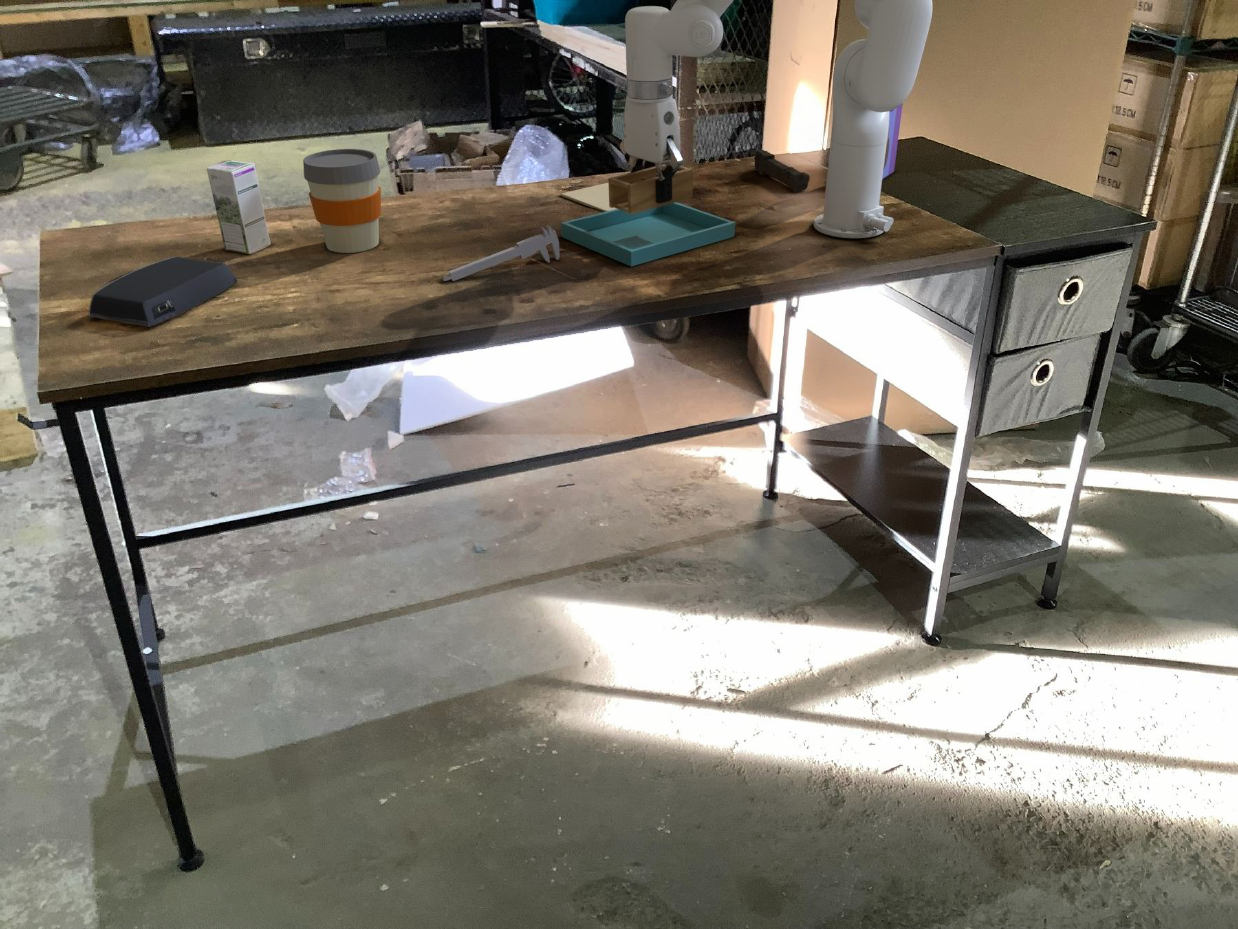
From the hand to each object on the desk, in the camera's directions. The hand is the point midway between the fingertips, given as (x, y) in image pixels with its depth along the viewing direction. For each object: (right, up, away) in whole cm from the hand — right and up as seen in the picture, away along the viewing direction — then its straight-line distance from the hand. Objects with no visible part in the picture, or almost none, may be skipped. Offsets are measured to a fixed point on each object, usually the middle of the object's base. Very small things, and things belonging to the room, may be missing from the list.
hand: (651, 196), depth 177 cm
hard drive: (-75, -22, -20) cm, 81 cm away
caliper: (-25, -15, -10) cm, 31 cm away
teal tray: (0, -6, +4) cm, 7 cm away
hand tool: (+27, +12, +34) cm, 45 cm away
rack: (0, -1, +1) cm, 1 cm away
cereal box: (+46, +12, +34) cm, 58 cm away
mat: (-4, +7, +26) cm, 27 cm away
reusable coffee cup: (-52, -8, +2) cm, 53 cm away
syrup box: (-70, -9, +1) cm, 71 cm away
